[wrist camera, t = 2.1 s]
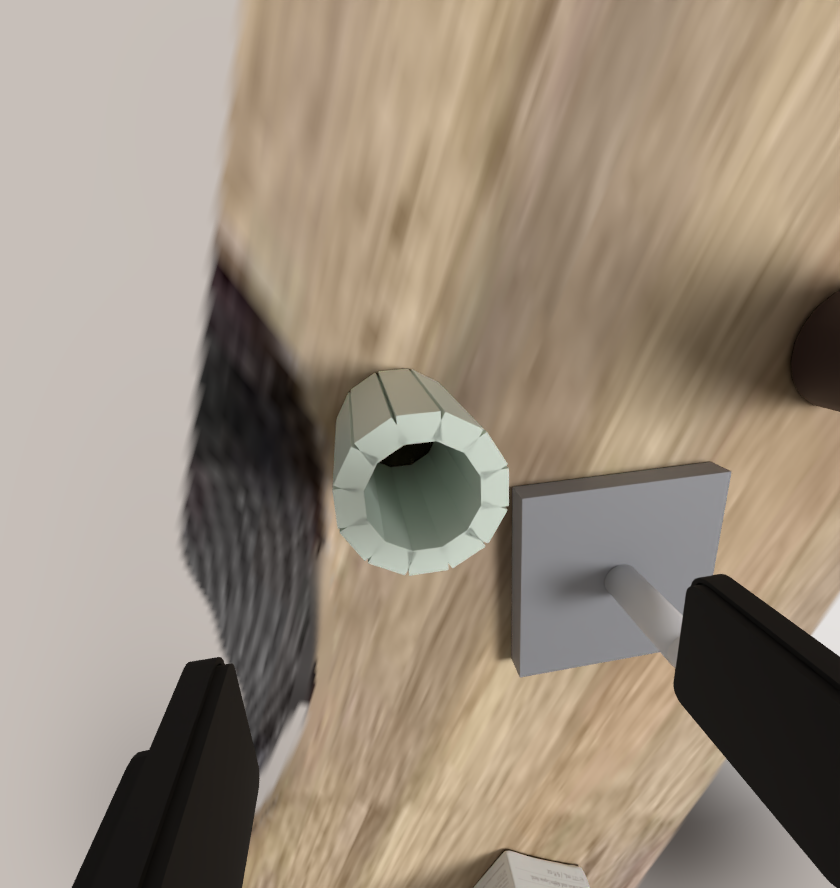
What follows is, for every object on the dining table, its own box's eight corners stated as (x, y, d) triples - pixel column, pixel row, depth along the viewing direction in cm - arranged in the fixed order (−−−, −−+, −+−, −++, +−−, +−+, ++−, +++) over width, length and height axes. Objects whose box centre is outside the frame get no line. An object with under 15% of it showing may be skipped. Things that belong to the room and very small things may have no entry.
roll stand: (512, 486, 25) (583, 572, 18) (711, 461, 27) (853, 530, 19) (511, 658, 29) (569, 786, 22) (684, 628, 31) (793, 738, 23)
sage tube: (330, 375, 22) (323, 423, 14) (454, 364, 23) (509, 404, 15) (344, 490, 24) (345, 584, 16) (458, 476, 25) (508, 560, 17)
